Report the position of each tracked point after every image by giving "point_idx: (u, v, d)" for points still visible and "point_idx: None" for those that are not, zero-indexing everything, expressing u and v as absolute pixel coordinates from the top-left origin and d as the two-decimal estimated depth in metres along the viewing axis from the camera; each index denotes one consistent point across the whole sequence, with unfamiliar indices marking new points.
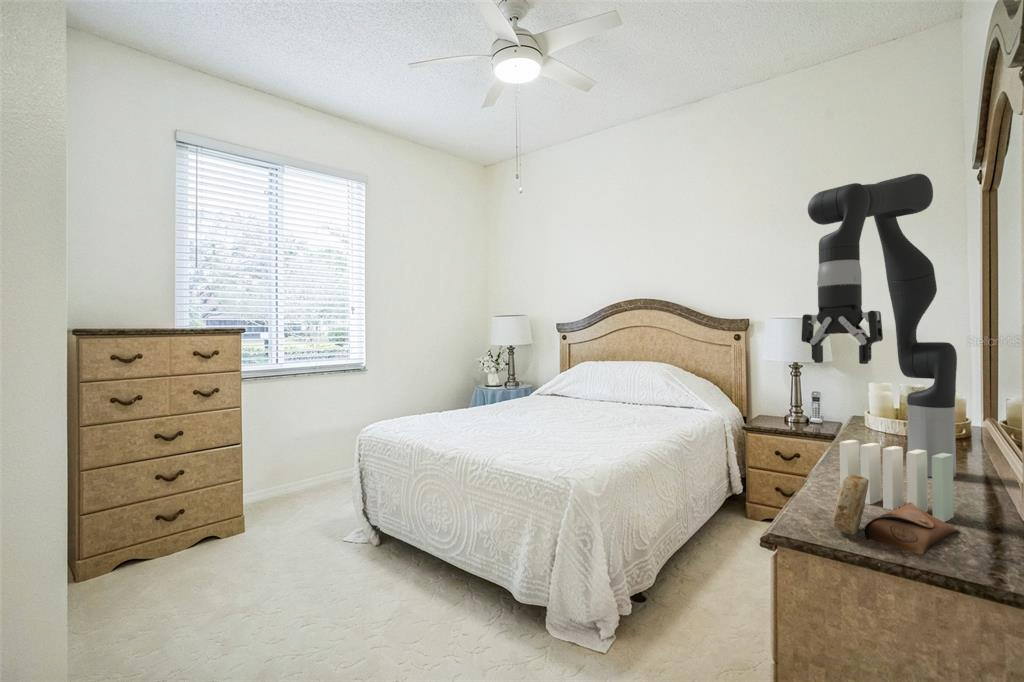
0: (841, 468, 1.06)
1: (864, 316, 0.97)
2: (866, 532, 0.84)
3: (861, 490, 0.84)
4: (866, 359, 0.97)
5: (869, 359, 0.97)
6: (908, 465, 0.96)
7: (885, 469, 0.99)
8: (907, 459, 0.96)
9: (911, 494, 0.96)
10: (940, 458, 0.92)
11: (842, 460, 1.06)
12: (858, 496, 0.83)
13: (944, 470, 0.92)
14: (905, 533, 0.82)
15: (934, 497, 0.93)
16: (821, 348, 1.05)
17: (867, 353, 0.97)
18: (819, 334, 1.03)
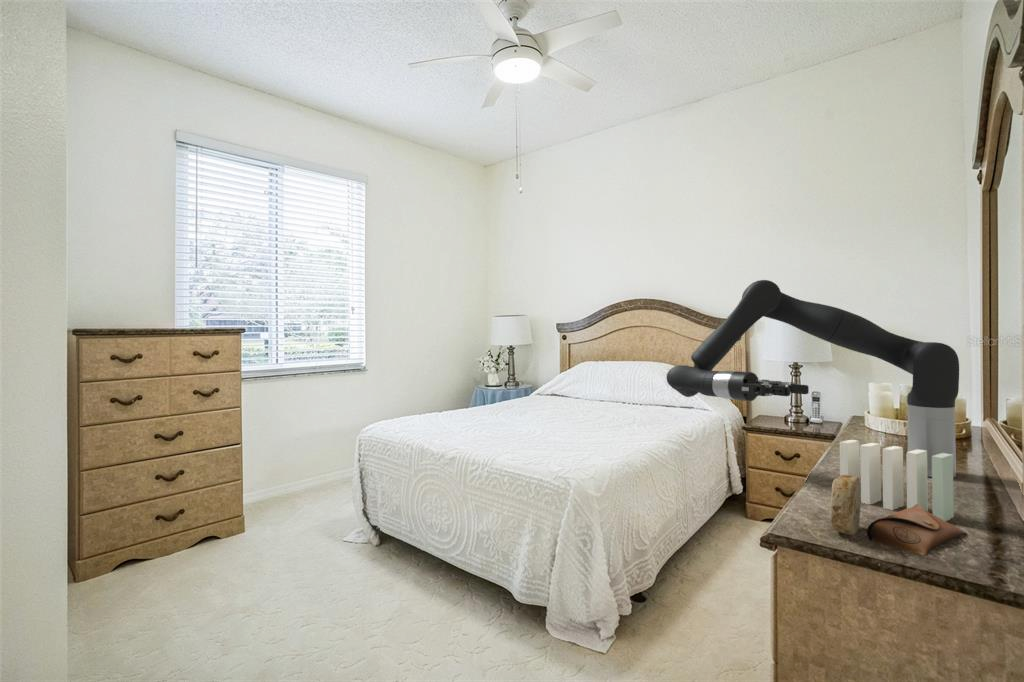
0: (841, 468, 1.06)
1: None
2: (868, 533, 0.84)
3: (851, 488, 0.84)
4: (783, 394, 1.15)
5: (783, 391, 1.15)
6: (908, 465, 0.96)
7: (885, 469, 0.99)
8: (907, 459, 0.96)
9: (911, 494, 0.96)
10: (940, 458, 0.92)
11: (842, 460, 1.06)
12: (850, 494, 0.84)
13: (944, 470, 0.92)
14: (908, 534, 0.81)
15: (934, 497, 0.93)
16: (793, 387, 1.21)
17: (778, 393, 1.16)
18: None
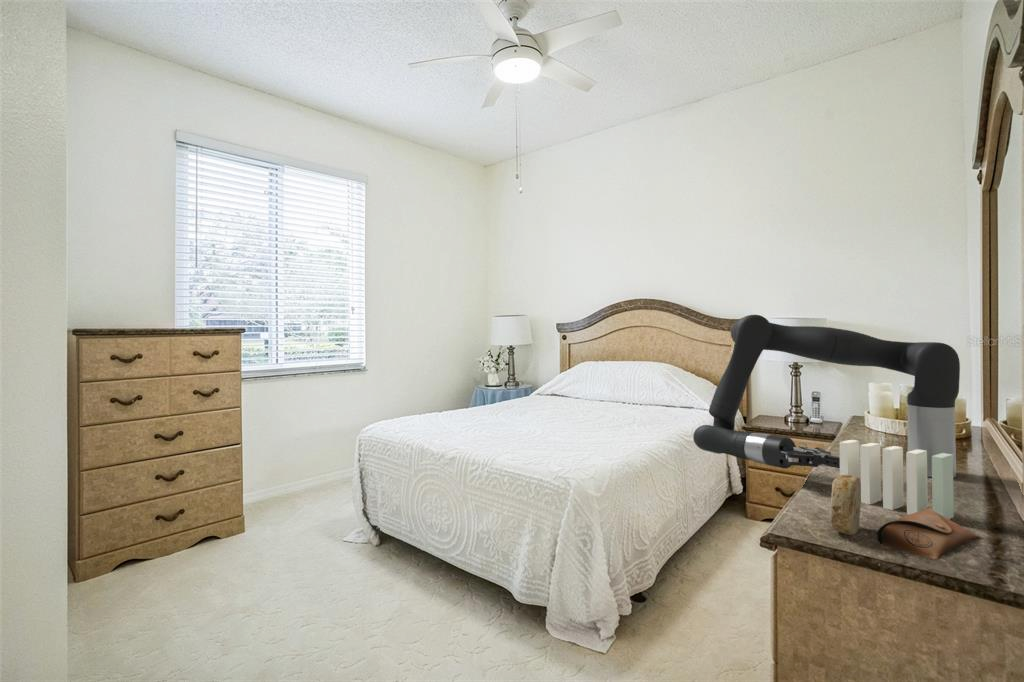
0: (841, 468, 1.06)
1: None
2: (879, 536, 0.83)
3: (851, 488, 0.84)
4: (838, 466, 1.08)
5: (838, 463, 1.08)
6: (908, 465, 0.96)
7: (885, 469, 0.99)
8: (907, 459, 0.96)
9: (911, 494, 0.96)
10: (940, 458, 0.92)
11: (842, 460, 1.06)
12: (849, 494, 0.84)
13: (944, 470, 0.92)
14: (920, 537, 0.80)
15: (934, 497, 0.93)
16: None
17: (832, 465, 1.09)
18: None
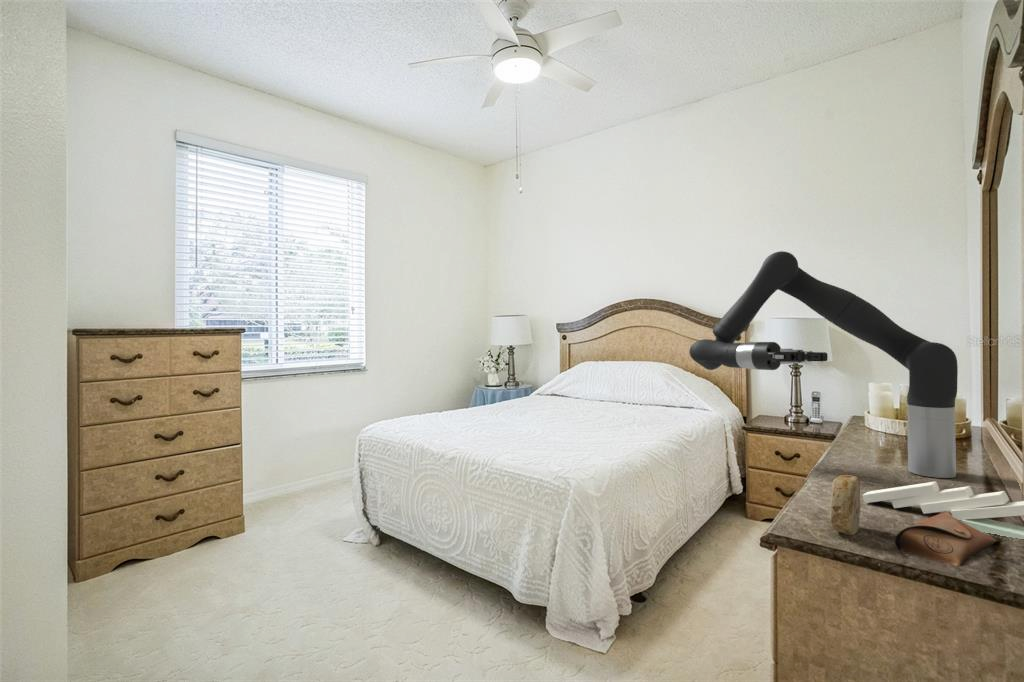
0: (898, 491, 0.98)
1: None
2: (897, 542, 0.80)
3: (851, 488, 0.84)
4: (819, 359, 1.20)
5: (819, 356, 1.20)
6: (1020, 507, 0.84)
7: (971, 501, 0.89)
8: None
9: (979, 513, 0.88)
10: None
11: (908, 491, 0.97)
12: (849, 494, 0.84)
13: None
14: (940, 543, 0.78)
15: (993, 529, 0.85)
16: None
17: (814, 359, 1.21)
18: (799, 362, 1.26)
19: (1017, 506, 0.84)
